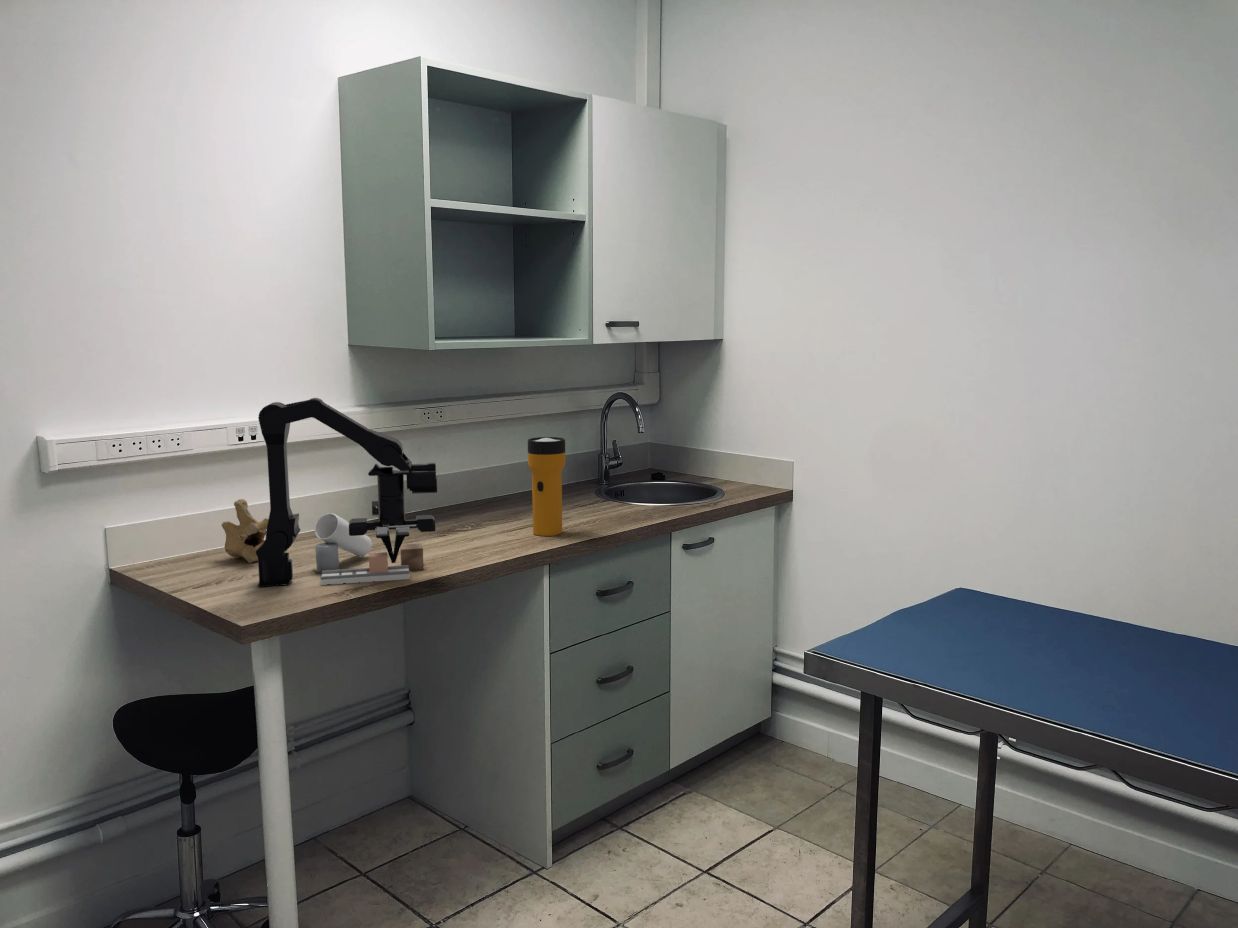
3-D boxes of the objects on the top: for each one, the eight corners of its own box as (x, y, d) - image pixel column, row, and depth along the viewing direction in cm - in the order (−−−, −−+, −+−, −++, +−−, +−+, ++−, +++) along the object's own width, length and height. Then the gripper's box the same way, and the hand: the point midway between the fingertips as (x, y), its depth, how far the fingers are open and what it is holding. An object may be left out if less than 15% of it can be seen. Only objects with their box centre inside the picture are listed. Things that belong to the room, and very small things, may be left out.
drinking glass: (376, 554, 236) (339, 534, 223) (352, 563, 238) (314, 543, 225) (374, 530, 239) (337, 508, 226) (351, 538, 241) (313, 517, 228)
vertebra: (252, 551, 243) (248, 492, 241) (280, 561, 234) (276, 500, 232) (218, 558, 237) (213, 497, 235) (245, 568, 228) (240, 505, 225)
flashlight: (571, 436, 261) (553, 441, 252) (573, 531, 265) (555, 538, 256) (539, 434, 265) (520, 439, 256) (541, 527, 269) (522, 535, 260)
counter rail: (321, 585, 213) (320, 577, 213) (322, 578, 219) (322, 570, 218) (409, 578, 218) (409, 571, 218) (408, 572, 223) (408, 564, 223)
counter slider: (369, 574, 216) (368, 557, 216) (369, 570, 220) (368, 553, 219) (388, 573, 217) (387, 556, 217) (387, 569, 221) (387, 552, 220)
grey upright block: (316, 573, 223) (314, 548, 222) (317, 568, 227) (316, 543, 227) (338, 572, 224) (337, 546, 223) (339, 566, 229) (338, 541, 228)
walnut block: (401, 570, 225) (400, 549, 225) (400, 565, 230) (400, 544, 229) (423, 569, 227) (422, 548, 226) (422, 563, 231) (421, 543, 231)
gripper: (431, 486, 227) (433, 551, 229) (348, 489, 222) (351, 556, 225) (434, 495, 216) (436, 563, 219) (347, 498, 212) (350, 568, 214)
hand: (393, 562), depth 219 cm, fingers closed
